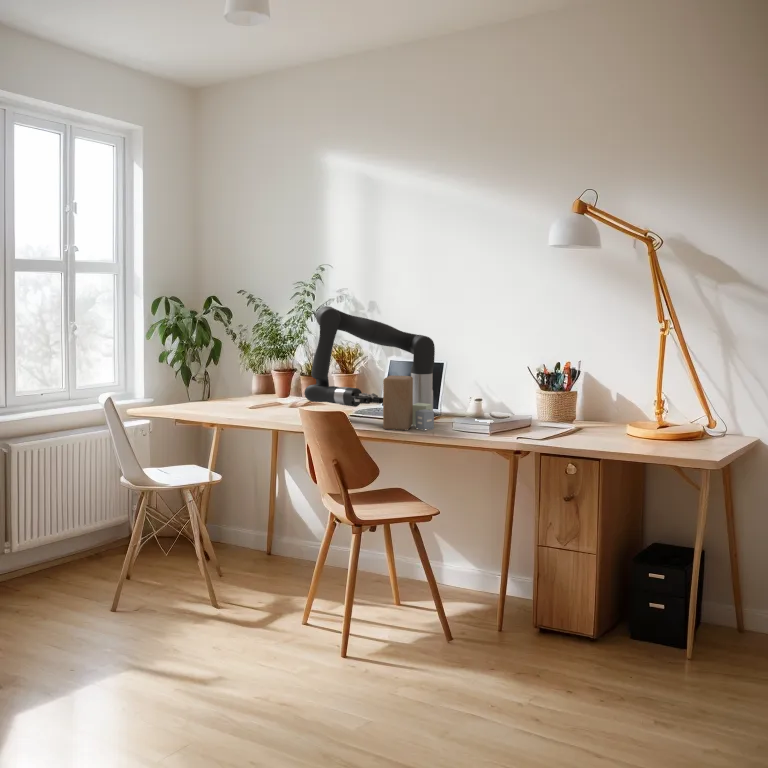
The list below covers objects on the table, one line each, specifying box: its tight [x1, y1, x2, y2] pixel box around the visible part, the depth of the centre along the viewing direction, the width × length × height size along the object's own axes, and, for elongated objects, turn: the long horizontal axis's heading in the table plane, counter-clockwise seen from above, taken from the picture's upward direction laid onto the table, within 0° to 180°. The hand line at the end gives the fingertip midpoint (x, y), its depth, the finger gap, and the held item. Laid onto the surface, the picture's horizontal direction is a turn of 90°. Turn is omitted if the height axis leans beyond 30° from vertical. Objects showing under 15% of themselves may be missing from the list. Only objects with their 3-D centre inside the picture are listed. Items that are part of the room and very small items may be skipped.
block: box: [382, 374, 413, 431], centre depth 330 cm, size 10×10×20 cm
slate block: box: [415, 409, 435, 431], centre depth 329 cm, size 5×5×7 cm
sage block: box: [412, 403, 432, 426], centre depth 338 cm, size 6×6×8 cm
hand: (382, 400), depth 334 cm, fingers closed
